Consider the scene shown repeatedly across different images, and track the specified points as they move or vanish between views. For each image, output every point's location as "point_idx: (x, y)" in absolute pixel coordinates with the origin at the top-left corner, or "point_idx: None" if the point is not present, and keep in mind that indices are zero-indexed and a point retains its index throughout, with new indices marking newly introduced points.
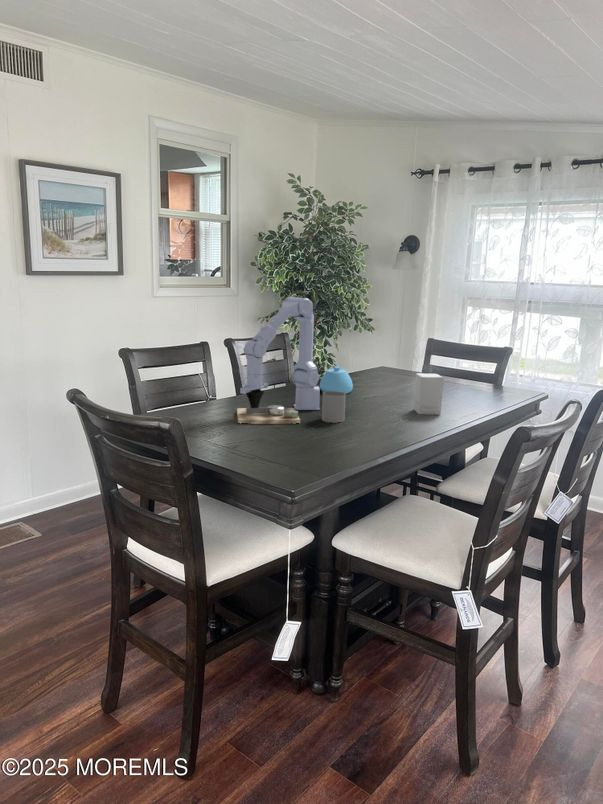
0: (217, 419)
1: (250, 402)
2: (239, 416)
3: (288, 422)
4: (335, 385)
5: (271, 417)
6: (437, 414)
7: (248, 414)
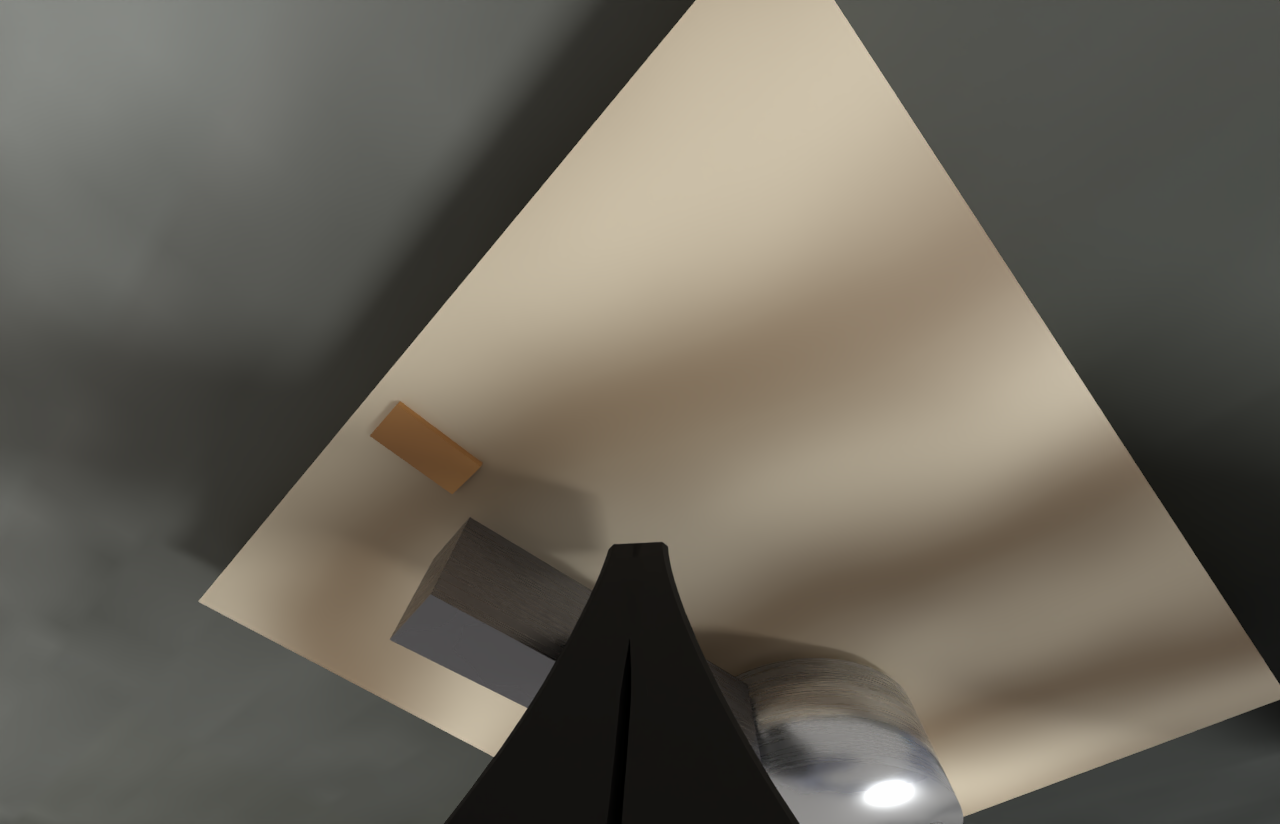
0: (26, 139)
1: (564, 676)
2: (315, 499)
3: None
4: None
5: None
6: None
7: (521, 514)
